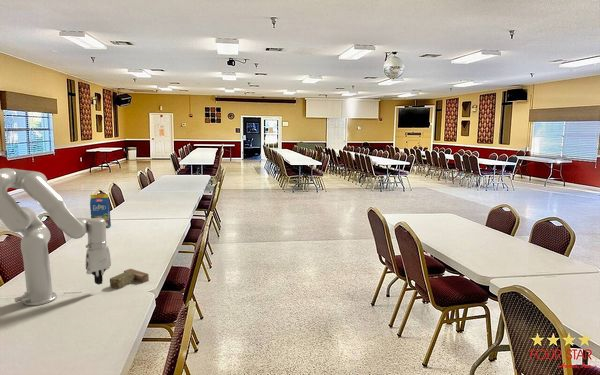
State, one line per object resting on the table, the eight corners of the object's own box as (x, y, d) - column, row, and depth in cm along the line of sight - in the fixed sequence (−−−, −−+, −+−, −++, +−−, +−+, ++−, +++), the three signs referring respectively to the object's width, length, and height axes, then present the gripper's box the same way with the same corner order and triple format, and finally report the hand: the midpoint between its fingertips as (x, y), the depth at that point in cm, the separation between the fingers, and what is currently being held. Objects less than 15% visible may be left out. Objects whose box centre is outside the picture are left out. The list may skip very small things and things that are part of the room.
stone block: (136, 281, 208) (135, 272, 207) (118, 290, 198) (117, 280, 197) (127, 279, 210) (126, 270, 210) (108, 288, 200) (108, 278, 199)
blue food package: (93, 226, 315) (91, 194, 311) (110, 226, 318) (108, 193, 314) (91, 228, 309) (89, 195, 305) (109, 228, 312) (107, 194, 308)
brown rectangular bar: (141, 283, 206) (141, 276, 205) (124, 277, 213) (123, 270, 213) (148, 280, 209) (148, 273, 208) (131, 275, 216) (130, 268, 216)
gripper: (86, 250, 183) (87, 290, 186) (117, 243, 196) (118, 280, 199) (76, 247, 187) (78, 286, 190) (107, 240, 200) (108, 277, 203)
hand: (98, 283), depth 194 cm, fingers closed
